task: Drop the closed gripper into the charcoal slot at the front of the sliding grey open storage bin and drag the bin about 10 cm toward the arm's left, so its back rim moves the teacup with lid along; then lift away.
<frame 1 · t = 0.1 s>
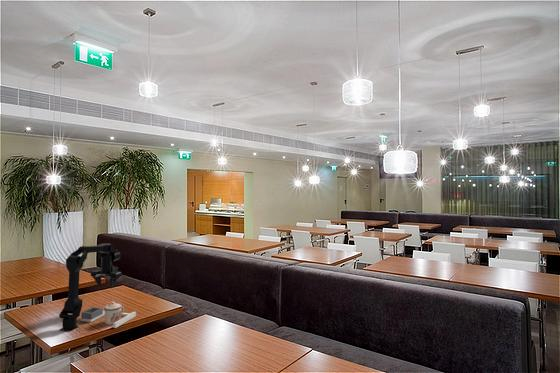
hand: (106, 287, 211), 15 cm above the table, fingers open, 9 cm apart
teacup with lid: (114, 321, 195), on the table
grey open storage bin: (106, 315, 196), point 3 cm above the table, slide at 0.0 cm
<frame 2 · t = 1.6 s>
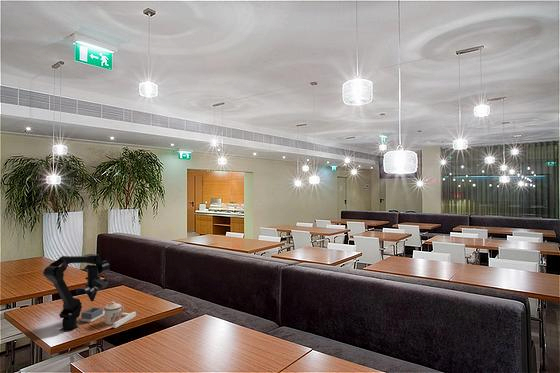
hand: (92, 301, 198), 10 cm above the table, fingers closed
nothing on the table moved.
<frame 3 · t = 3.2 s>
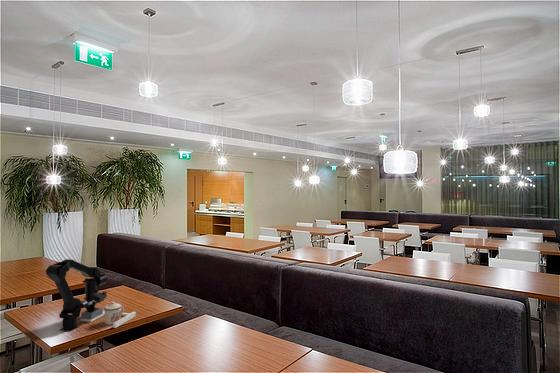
hand: (90, 314, 199), 2 cm above the table, fingers closed
grey open storage bin: (106, 315, 196), point 3 cm above the table, slide at 0.1 cm, touching gripper
everything else where it was.
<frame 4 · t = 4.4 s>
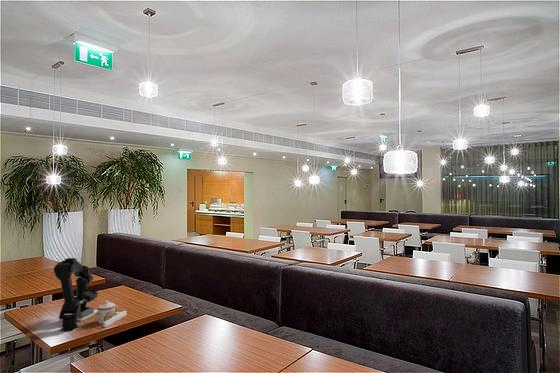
hand: (81, 313, 200), 2 cm above the table, fingers closed, pressing on grey open storage bin
teacup with lid: (108, 320, 196), on the table, touching grey open storage bin
grey open storage bin: (97, 314, 198), point 3 cm above the table, slide at 6.4 cm, touching gripper, teacup with lid
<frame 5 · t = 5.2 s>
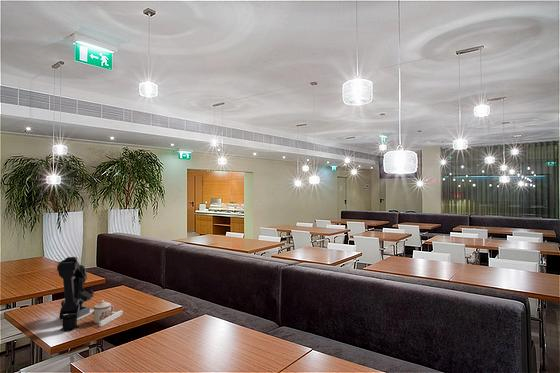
hand: (77, 313, 200), 2 cm above the table, fingers closed, pressing on grey open storage bin
teacup with lid: (104, 319, 197), on the table, touching grey open storage bin
grey open storage bin: (93, 314, 198), point 3 cm above the table, slide at 9.3 cm, touching gripper, teacup with lid
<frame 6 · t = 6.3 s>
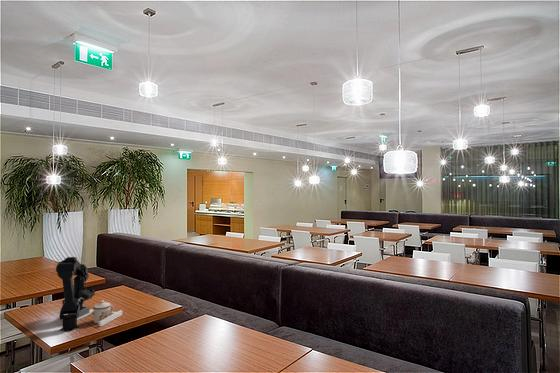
hand: (78, 311, 200), 3 cm above the table, fingers closed
teacup with lid: (104, 320, 197), on the table
grey open storage bin: (92, 314, 198), point 3 cm above the table, slide at 9.4 cm
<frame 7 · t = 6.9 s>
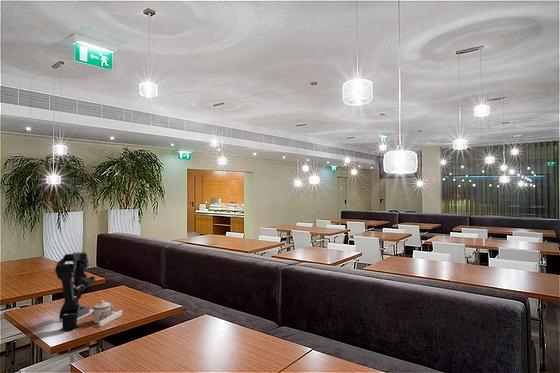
hand: (78, 298, 200), 11 cm above the table, fingers closed
nothing on the table moved.
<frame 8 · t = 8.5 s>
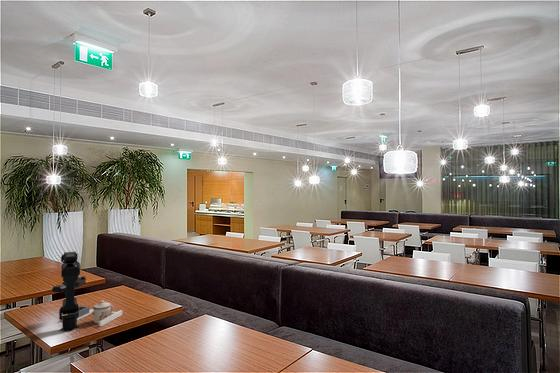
hand: (69, 299, 196), 12 cm above the table, fingers closed
nothing on the table moved.
at the end: teacup with lid inside the target area (0.4 cm from its centre), on the table; teacup with lid tilted 0°; grey open storage bin slide at 9.4 cm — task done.
